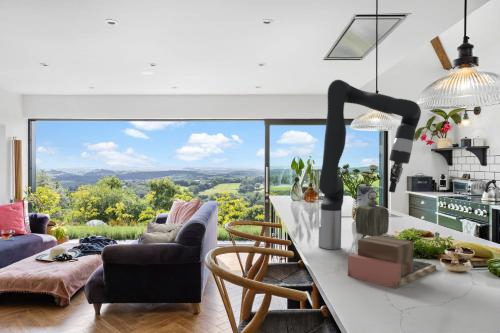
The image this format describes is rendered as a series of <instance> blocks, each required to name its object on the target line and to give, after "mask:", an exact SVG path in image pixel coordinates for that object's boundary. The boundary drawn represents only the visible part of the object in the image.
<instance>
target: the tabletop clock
mask: <svg viewBox="0 0 500 333" xmlns="http://www.w3.org/2000/svg"><path fill="white" fill-rule="evenodd" d="M370 193H376V198H374V197H372V198H369V194H370ZM369 194H368V198H369V199H370V200H371V201H369V202H368V203H367V205H362V206H359V207H358V208H357V207H356V210H355V231H356V233H357V234H359V235H362V236H361V238H360V239H363V238H366V237H371V236H375V235H376V236H383V235H386V234H387V233H388V232H389V224H390V220H389V219H390V218H389V216H390V214H389V210H388V209H387V208H386V207H385V206H381V205H379V204H378V202H377V198H378V192H377V191H376V192H375V191H371V192H369ZM375 199H376V201H374V200H375ZM374 205H376V206H374Z"/></svg>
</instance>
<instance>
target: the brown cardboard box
mask: <svg viewBox="0 0 500 333" xmlns="http://www.w3.org/2000/svg"><path fill="white" fill-rule="evenodd" d="M357 255H360V256H365V257H369V258H374V259H378V260H383V261H388V262H392V263H397V264H401V276H402V275H405V274H407V273H409V272H412V271H413V260H414V241H413V240H412V241H410V240H406V239H400V238H393V237H388V236H383V235H380V236H376V235H375V236H366V237H364V238H363V239H361V238H359V239H357Z"/></svg>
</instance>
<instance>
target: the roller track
mask: <svg viewBox="0 0 500 333" xmlns="http://www.w3.org/2000/svg"><path fill="white" fill-rule="evenodd" d="M434 271H437V264H435V263H429V262H425V261H419V260H414V259H413V271H412V272H409V273H407V274H405V275H402V276H401V264H397V263H392V262H388V261H383V260H378V259H374V258H369V257H365V256H360V255H358V254H354V253H351V254H347V276H348V277H351V278H355V279H357V280H358V279H359V280H362V281H367V282H370V283H373V282H374V284H377V283H378V285H381V284H382V285H381V286H385V285H386V286H385V287H388V286H390V287H389V288H392V287H394V288H393V289H398V288H397V287H399V288H400V286H401V287H403V286H405V285H407V284H409V283H411V282H413V281H415V280H417V279H419V278H422V277H424V276H425V275H428V274H430V273H432V272H434ZM406 283H407V284H406ZM404 284H405V285H404ZM402 285H403V286H402Z"/></svg>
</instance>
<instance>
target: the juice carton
mask: <svg viewBox="0 0 500 333" xmlns="http://www.w3.org/2000/svg"><path fill="white" fill-rule="evenodd" d="M356 191H357V192H356V209H357V208H358V207H359V206H362V205H367V203H368V202H369V201H371V200H370V199H369V198H372V197H374V198H376V196H377V195H376V193H377V190H376V186H372V185H366V183H362V184H361V183H360V186H357V189H356ZM371 191H375V192H376V193H370V194H369V192H371ZM368 194H369V198H368ZM374 201H376V202H377V198H376V199H375V200H374ZM374 206H377V205H374Z"/></svg>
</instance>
